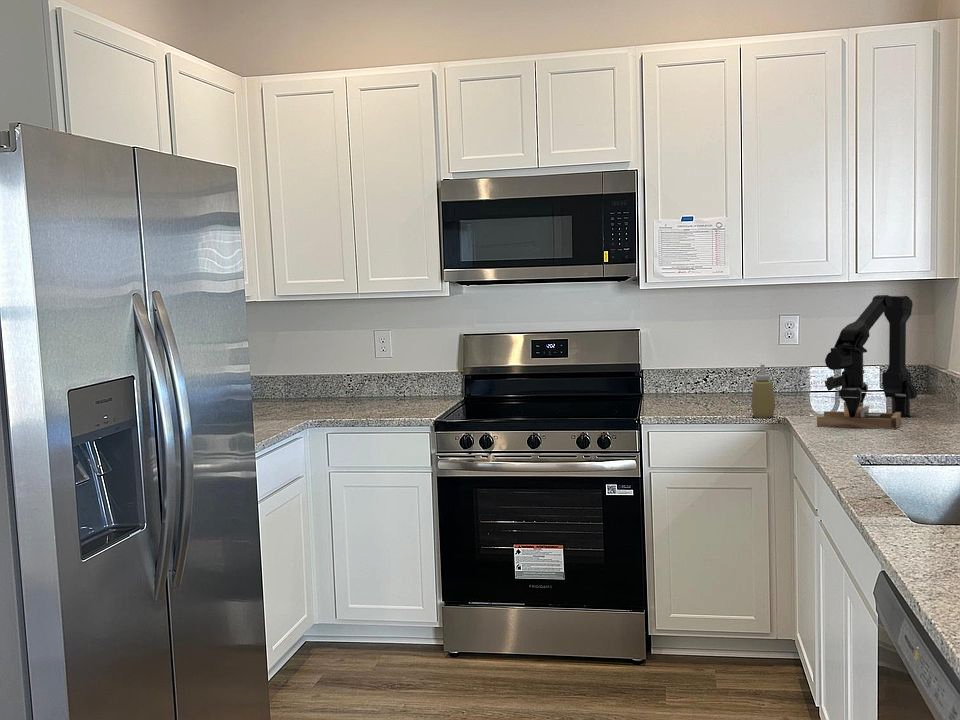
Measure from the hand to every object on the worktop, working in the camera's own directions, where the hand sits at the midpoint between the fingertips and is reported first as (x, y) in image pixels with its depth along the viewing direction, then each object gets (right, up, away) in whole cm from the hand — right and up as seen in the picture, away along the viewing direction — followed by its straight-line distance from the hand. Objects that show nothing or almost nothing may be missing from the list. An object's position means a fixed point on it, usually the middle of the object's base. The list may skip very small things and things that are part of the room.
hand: (853, 416), depth 297 cm
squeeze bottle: (-21, -2, +24) cm, 32 cm away
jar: (0, -2, 0) cm, 2 cm away
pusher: (+5, -1, -3) cm, 5 cm away
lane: (+1, -3, -1) cm, 3 cm away
